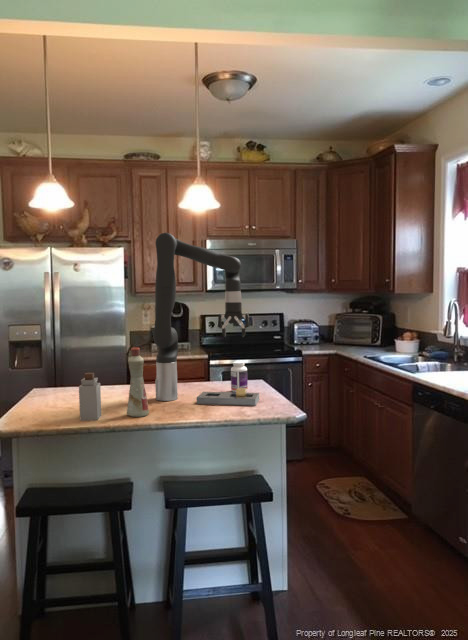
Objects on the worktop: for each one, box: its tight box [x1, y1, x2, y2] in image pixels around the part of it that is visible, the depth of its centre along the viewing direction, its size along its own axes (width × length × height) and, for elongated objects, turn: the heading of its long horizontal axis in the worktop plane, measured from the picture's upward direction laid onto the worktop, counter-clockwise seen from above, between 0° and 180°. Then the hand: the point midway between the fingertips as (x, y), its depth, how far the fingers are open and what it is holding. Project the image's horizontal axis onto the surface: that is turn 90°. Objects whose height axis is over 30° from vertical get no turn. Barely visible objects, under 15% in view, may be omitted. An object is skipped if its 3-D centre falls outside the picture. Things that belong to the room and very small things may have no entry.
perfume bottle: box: [78, 372, 102, 421], centre depth 203 cm, size 7×7×18 cm
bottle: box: [126, 346, 150, 418], centre depth 206 cm, size 9×9×28 cm
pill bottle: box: [230, 360, 249, 392], centre depth 249 cm, size 8×8×14 cm
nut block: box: [236, 388, 248, 397], centre depth 226 cm, size 4×4×6 cm
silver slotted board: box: [196, 391, 260, 407], centre depth 228 cm, size 26×12×3 cm, turn 79°
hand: (233, 336), depth 235 cm, fingers open, 8 cm apart
